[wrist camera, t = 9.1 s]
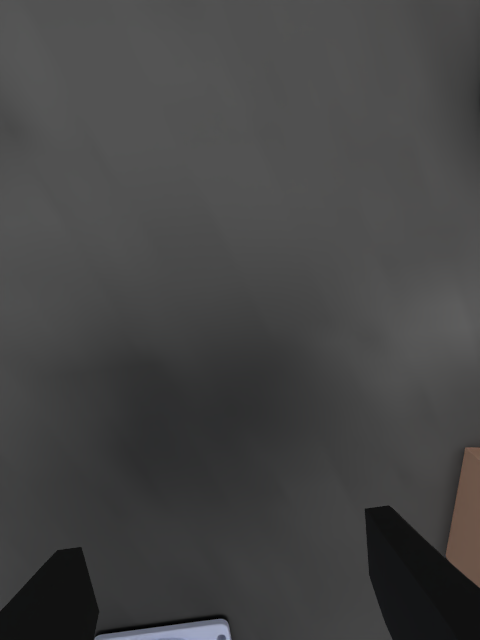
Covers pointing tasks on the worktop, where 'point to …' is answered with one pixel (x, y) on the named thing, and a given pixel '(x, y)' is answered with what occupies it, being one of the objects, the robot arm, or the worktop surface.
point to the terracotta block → (467, 519)
